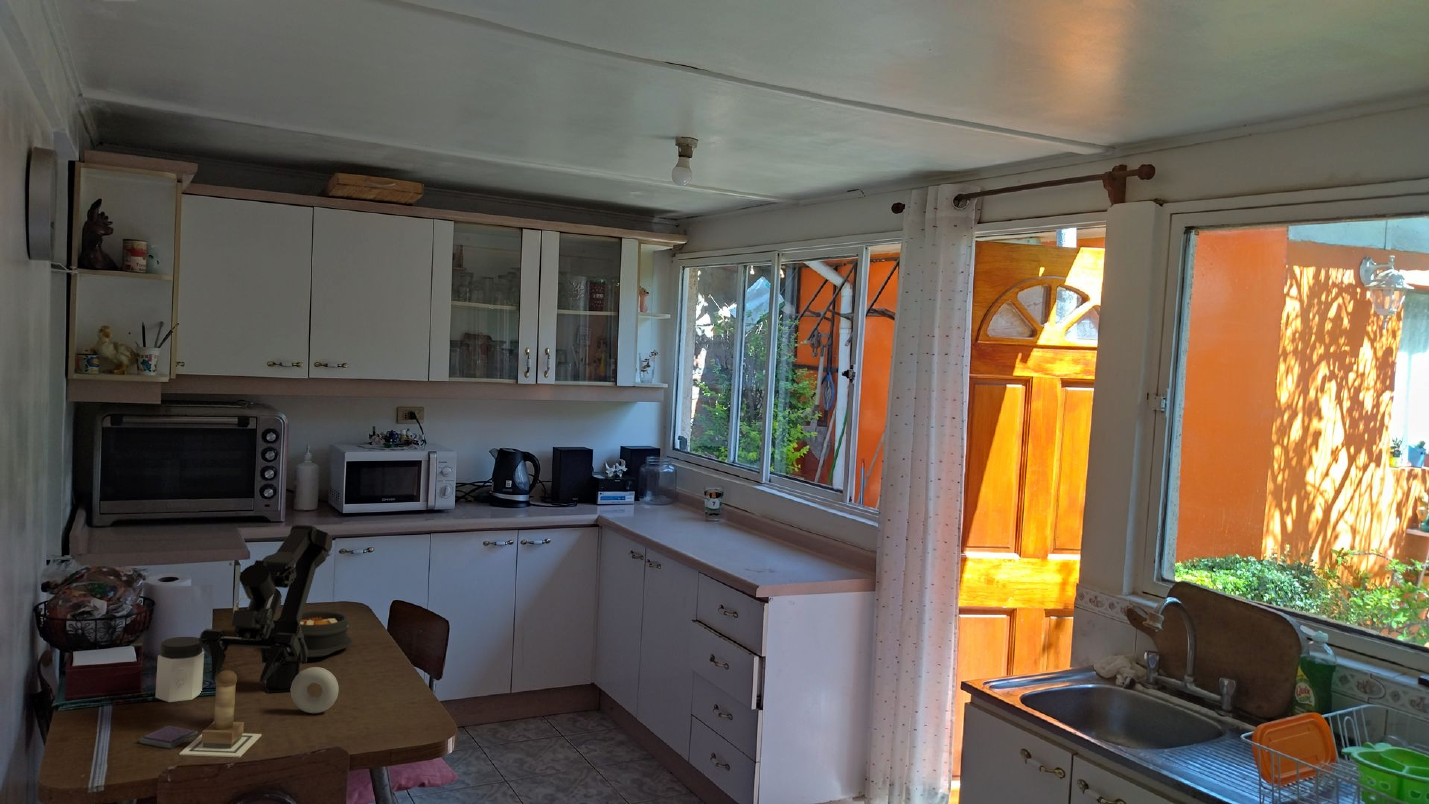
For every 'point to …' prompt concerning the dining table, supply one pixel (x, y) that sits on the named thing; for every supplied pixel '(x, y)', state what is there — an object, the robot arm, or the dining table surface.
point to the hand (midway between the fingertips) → (237, 681)
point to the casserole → (324, 632)
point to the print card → (235, 751)
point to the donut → (309, 702)
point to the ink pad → (168, 737)
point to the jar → (179, 669)
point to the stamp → (223, 715)
